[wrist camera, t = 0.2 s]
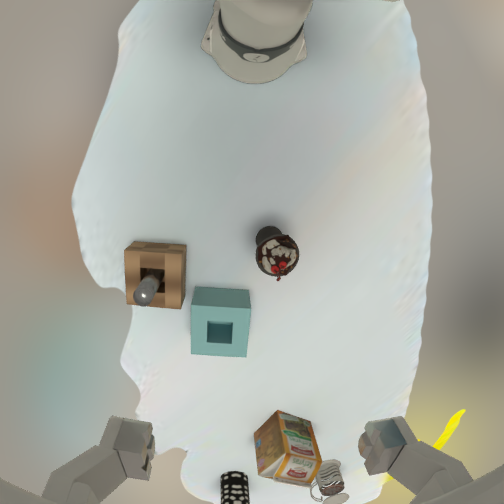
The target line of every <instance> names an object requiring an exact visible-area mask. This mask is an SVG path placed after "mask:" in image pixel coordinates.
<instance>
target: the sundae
mask: <svg viewBox="0 0 504 504" xmlns="http://www.w3.org/2000/svg"><path fill="white" fill-rule="evenodd" d="M256 243H257V246H258V247H257V249H256V261H257V264H258V267H259V268H260V269H261V270H262V271H263V272H264V273H266V274H268V275H271V276H277V277H278V276H279V277H278V278H277V281H279V280H280V279H281V278H280V276H283V275H287V274H288V273H289V272H291V271H292V270H293V269H294V267H295V266H296V264H297V262H298V260H299V249H298V246H297V244H296V243H295V241H294V240H293V239H292V238H290V237H289V235H284V234H282V233H281V232H280V230H279V229H277V228H275V227H271V226H268V227H265V228H263V229H261V230H260V231H259V232H258V234H257V236H256Z"/></svg>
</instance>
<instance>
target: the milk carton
mask: <svg viewBox="0 0 504 504" xmlns="http://www.w3.org/2000/svg"><path fill="white" fill-rule="evenodd" d="M254 440H255V449H256V459H257V468H258V475H259V476H261V477H266V478H270V479H273V480H274V482H277V483H282V484H287V485H293V486H298V487H304V488H311V487H312V486H311V483H312V481H313V479H314V478H315V476H316V474H317V472H318V471H319V469H320V466H321V464H322V459H321V455H320V452H319V449H318V445H317V442H316V439H315V435H314V432H313V429H312V425H311V422H310V421H308V420H305V419H302V418H299V417H296V416H293V415H290V414H287V413H285V412H282V411H279V410H277V411H276V412H275V413H274V414H273V415H272V416H271V417H270V418H269V419H268V420H267V421H266V422H265V423H264V424H263V425H262V426H261V427H260V428H259V429H258V430H257V431H256V432H255V433H254Z"/></svg>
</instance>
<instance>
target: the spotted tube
mask: <svg viewBox="0 0 504 504" xmlns="http://www.w3.org/2000/svg"><path fill="white" fill-rule="evenodd" d="M221 504H250V500H249V488H248V477H247V475H246V474H245V473H242V472H238V471H231V472H226V473H224V474H222V475H221Z"/></svg>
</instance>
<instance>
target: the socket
mask: <svg viewBox="0 0 504 504" xmlns="http://www.w3.org/2000/svg"><path fill="white" fill-rule="evenodd" d="M124 261H125V283H126V298H127V304H130V305H138V304H136V303H135V301H134V299H133V293H134V291H135V290H136V288H137V287H138V285H139V284H140V282H141V281H142V280H143V278H144V277H145V275H146V274H147V272H148V271H149V270H150V268H154V269H165V277H164V278H163V280H162V282H161V284H160V286H159V288H158V290H157V292H156V293H155V295H154V297H153V299H152V301H151V303H150V304H149V305H148V306H150V307H160V308H171V309H181V307H182V304H183V301H184V298H185V278H186V245H180V244H165V243H150V242H135V241H134V242H133V243H132V244H131V245H130V246H128V247H127V248H126V249H125V250H124Z"/></svg>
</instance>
